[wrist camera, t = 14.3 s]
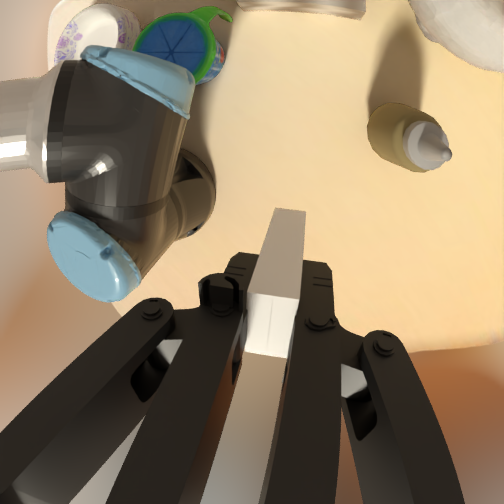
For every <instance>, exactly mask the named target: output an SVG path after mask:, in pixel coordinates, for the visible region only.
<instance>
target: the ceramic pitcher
mask: <svg viewBox="0 0 504 504" xmlns="http://www.w3.org/2000/svg"><path fill="white" fill-rule="evenodd" d="M409 3H410V5H411V7H412V9H413V11H414V12H415V16H416V20H417V24H418V26H419V27H420V29H421V30H422V32H423V34H424V36H425V37H426V38H428V39H429V40H431V41H432V42H436V43H440V44H441V45H442V46H443V47H445V48H446V49H447V50H449V51H450V52H451V53H452V54H454V55H455V56H456V57H458V58H460V59H462V60H463V61H465V62H467V63H469V64H470V65H473V66H475V67H478V68H481V69H484V70H488V71H495V72H500V73H504V0H409Z"/></svg>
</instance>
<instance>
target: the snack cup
mask: <svg viewBox="0 0 504 504" xmlns="http://www.w3.org/2000/svg"><path fill="white" fill-rule="evenodd" d="M217 14H218V15H219V16H220V17H221V18H222V19H224V20H226V21H228V22H232V21H233V20H232V17H231V16H230V15H229V14H227V13H226V12H224V11H222V10H221V9H219V8H217V7H214V6H205V7H201V8H198V9H196V10H194V11H192V12H190V13H171V14H167V15H164V16H161V17H159V18H157V19H155V20H154V21H153V22H151V23H150V24H149V25H147V26H146V27H145V28H144V29H143V31H142V32H141V33H140V35H139V36H138V38H137V39H136V41H135V44H134V46H133V50H132V51H135V52H139V53H143V54H147V55H150V56H154V57H157V58H160V59H163V60H166V61H169V62H172V63H175V64H177V65H180V66H182V67H184V68H186V69H187V70H189V71H190V72H191V73H192V75H193V77H194V79H195V85H199V84H203V83H206V82H209V81H211V80H212V79H213V78H214V77H215V76H217V75H218V73H219V72H220V70H221V69H222V67H223V65H224V61H225V57H224V51H223V49H222V47H221V45H220V43H219V42H218V41H217V40H216V38H215V37H214V34H213V32H212V30H211V29H210V27H209V23H210V21H211V20H212V19H213V18H214V17H215V16H216V15H217Z"/></svg>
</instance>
